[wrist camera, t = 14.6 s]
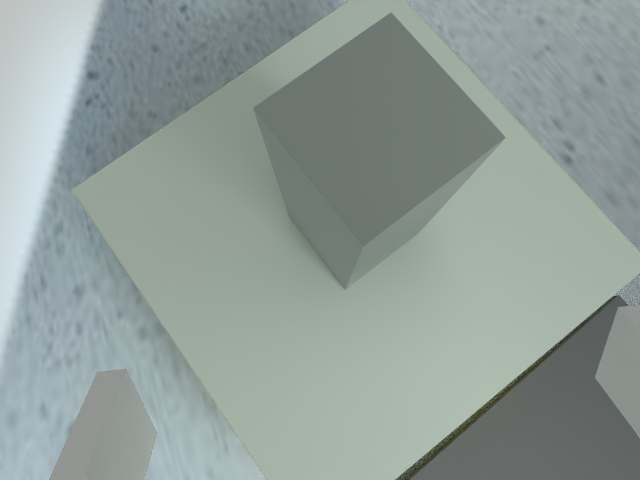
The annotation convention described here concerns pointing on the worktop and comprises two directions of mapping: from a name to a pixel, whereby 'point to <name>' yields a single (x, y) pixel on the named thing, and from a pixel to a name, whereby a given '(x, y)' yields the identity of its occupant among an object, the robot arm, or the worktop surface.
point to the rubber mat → (548, 422)
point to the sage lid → (356, 245)
